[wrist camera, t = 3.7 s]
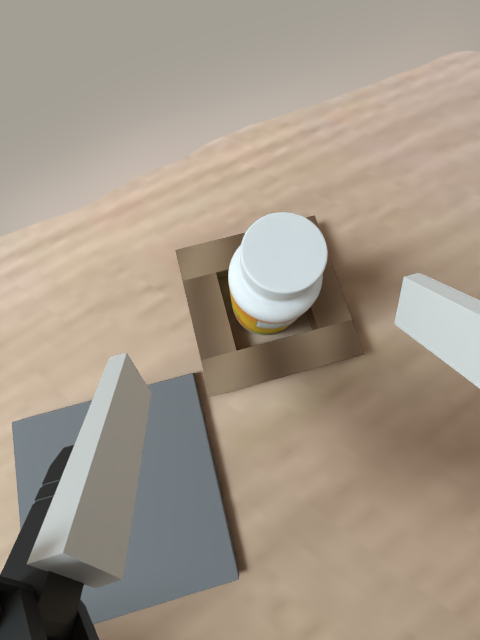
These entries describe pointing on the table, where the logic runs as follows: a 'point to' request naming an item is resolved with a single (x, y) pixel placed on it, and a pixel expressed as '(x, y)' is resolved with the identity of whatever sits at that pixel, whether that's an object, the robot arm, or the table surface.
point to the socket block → (268, 358)
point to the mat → (148, 500)
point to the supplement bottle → (276, 272)
